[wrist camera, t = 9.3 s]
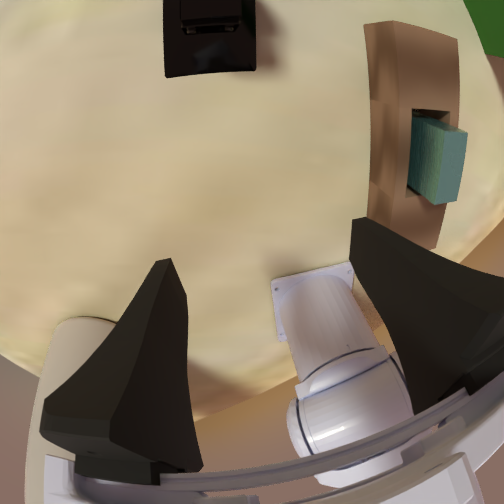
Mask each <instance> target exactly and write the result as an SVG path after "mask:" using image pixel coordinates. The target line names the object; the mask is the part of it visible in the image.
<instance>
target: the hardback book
mask: <svg viewBox="0 0 504 504" xmlns="http://www.w3.org/2000/svg"><path fill="white" fill-rule="evenodd" d="M463 1H464V3H465V5H466V8H467V10H468V12H469V14H470V16H471V18H472V21H473V23H474V25H475V28H476V30H477V33H478V35H479V38H480V41H481V44H482V46H483V49H484V52H485V54H489V55H494V56H498V57H502V58H504V0H463Z"/></svg>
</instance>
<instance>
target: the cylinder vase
mask: <svg viewBox="0 0 504 504" xmlns="http://www.w3.org/2000/svg"><path fill="white" fill-rule="evenodd" d="M115 325H116V324H115V323H112V322H110V321H106V320H103V319H98V318H93V317H74V318H70V319H67V320H65V321H63V322H61V323H60V324H59V325H58V326H57V327H56V328H55V330H54V333H53V336H52V339H51V342H50V345H49V348H48V351H47V355H46V358H45V362H44V365H43V369H42V373H41V376H40V380H39V385H38V389H37V393H36V398H35V403H34V408H33V413H32V418H31V425H30V431H29V438H28V447H27V457H26V470H25V504H44V466H45V455H46V454H50V455H54V456H58V457H62V458H66V459H70V460H73V461H75V454H73V453H71V452H69V451H67V450H65V449H63V448H61V447H58V446H56V445H54V444H53V443H51V442H49V441H47V440H46V439H44V438H43V437H42V436H41V434H40V433H39V427H40V421H41V414H42V409H43V403H44V399H45V398H46V397H47V396H49V395H50V394H51V393H52V392H53V391H55V390H56V389H57V388H58V387H59V386H61V385H62V384H63V383H64V382H65V381H66V380H67V379H69V378H70V377H71V376H72V375H73V374H74V373H75V372H76V371H77V370H78V369H79V368H80V367H81V366H82V365H83V364H84V363H85V362H86V361H87V359H88V358H89V357H90V356H91V355H92V354H93V352H94V351H95V350H96V349H97V348H98V347H99V346H100V345H101V343H102V342H103V341H104V340H105V338H106V337H107V336H108V334H109V333H110V332H111V331H112V329H113V328H114V327H115Z"/></svg>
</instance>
